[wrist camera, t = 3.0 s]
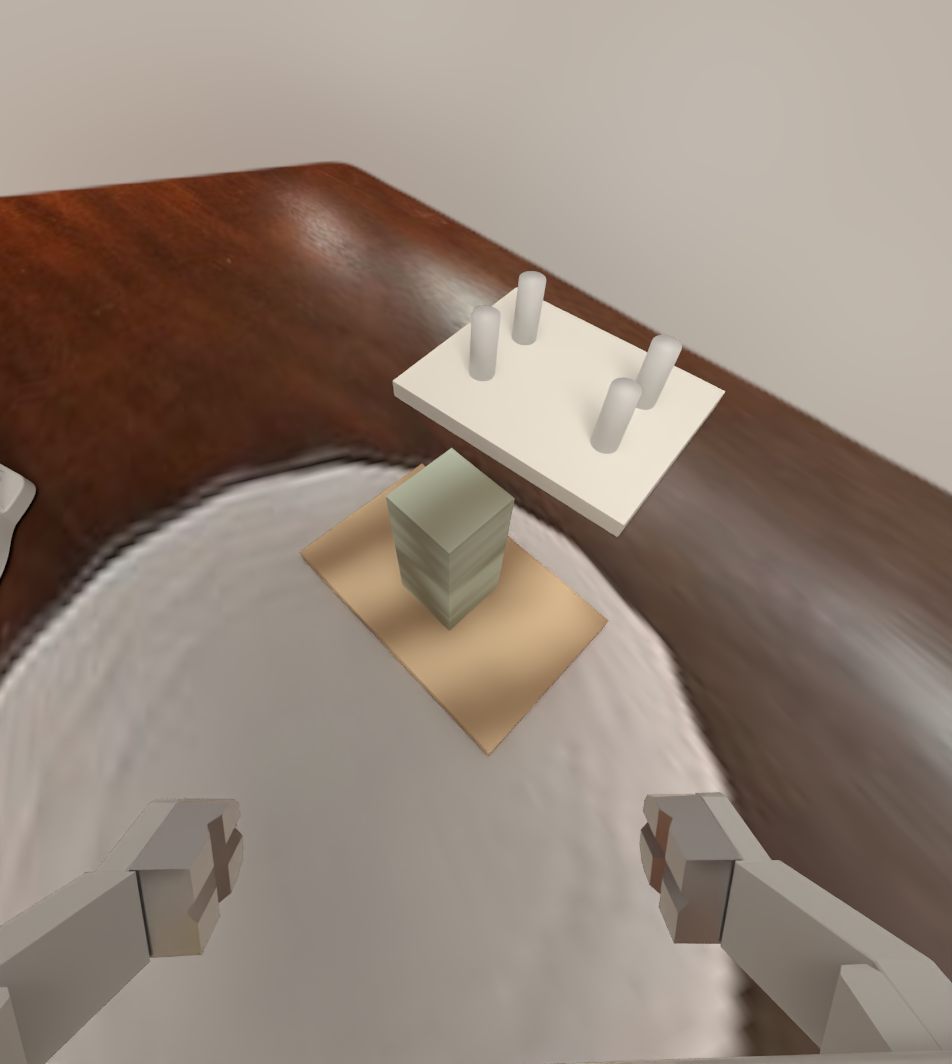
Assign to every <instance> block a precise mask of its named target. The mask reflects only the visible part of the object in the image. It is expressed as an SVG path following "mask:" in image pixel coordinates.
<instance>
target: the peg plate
mask: <svg viewBox="0 0 952 1064" xmlns="http://www.w3.org/2000/svg"><path fill="white" fill-rule="evenodd" d="M545 285H546V278H545V276H544V275H543V274H541V273H539V272H535V271H527V272H524V273H522V274H521V275H520V276H519V283H518V288H517V287H516V288H515V289H514V290H512V291H511V292H510V293H508V294H507V295H506V296H504V297H503V298H502V299H500V300H499V301H498V302H496V303H495V304H494V305H492V306H487V305H483V306H478V307H476V308H475V309H473V311H472V316H471V322H470V323H469V324H467V325H466V326H465V327H463V328H462V329H461V330H459V331H458V332H457V333H455V334H454V335H453V336H451V337H450V338H449V339H447V340H446V341H445V342H443V343H442V344H441V345H439V346H438V347H437V348H435V349H434V350H433V351H431V352H430V353H429V354H427V355H426V356H425V357H424V358H422V359H421V360H420V361H418V362H417V363H416V364H414V365H413V366H412V367H410V368H409V369H408V370H406V371H405V372H404V373H402V374H401V375H400V376H398V377H397V378H396V379H394V380H393V389H394V396H395V397H397V398H398V399H400V400H402V401H403V402H405V403H406V404H408V405H409V406H411V407H413V408H414V409H416V410H417V411H419V412H421V413H422V414H424V415H425V416H427V417H428V418H430V419H432V420H433V421H435V422H436V423H438V424H439V425H441V426H443V427H444V428H446V429H447V430H449V431H450V432H452V433H454V434H455V435H457V436H458V437H460V438H461V439H463V440H465V441H466V442H468V443H469V444H471V445H472V446H474V447H476V448H477V449H479V450H480V451H482V452H484V453H485V454H487V455H488V456H490V457H491V458H493V459H495V460H496V461H498V462H499V463H501V464H502V465H504V466H506V467H507V468H509V469H510V470H512V471H513V472H515V473H517V474H518V475H520V476H521V477H523V478H524V479H526V480H528V481H529V482H531V483H532V484H534V485H535V486H537V487H539V488H540V489H542V490H543V491H545V492H547V493H548V494H550V495H551V496H553V497H554V498H556V499H558V500H559V501H561V502H562V503H564V504H565V505H567V506H569V507H570V508H572V509H573V510H575V511H576V512H578V513H580V514H581V515H583V516H584V517H586V518H587V519H589V520H591V521H592V522H594V523H595V524H597V525H598V526H600V527H602V528H603V529H605V530H606V531H608V532H609V533H611V534H613V535H614V536H616V537H618V536H619V535H620V533H621V532H622V531H623V529H624V528H625V527H626V525H627V524H628V523H629V521H630V520H631V519H632V517H633V516H634V515H635V513H636V512H637V511H638V509H639V508H640V507H641V505H642V504H643V503H644V501H645V500H646V499H647V497H648V496H649V495H650V493H651V492H652V491H653V489H654V488H655V487H656V485H657V484H658V483H659V481H660V480H661V479H662V477H663V476H664V475H665V473H666V472H667V471H668V469H669V468H670V467H671V465H672V464H673V463H674V461H675V460H676V459H677V457H678V456H679V455H680V453H681V452H682V451H683V449H684V448H685V447H686V445H687V444H688V443H689V441H690V440H691V439H692V437H693V436H694V435H695V433H696V432H697V431H698V429H699V428H700V427H701V425H702V424H703V423H704V421H705V420H706V419H707V417H708V416H709V415H710V413H711V412H712V411H713V409H714V408H715V407H716V405H717V404H718V402H719V401H720V399H721V397H722V396H723V394H724V393H725V391H723V390H721V389H719V388H717V387H715V386H713V385H711V384H709V383H707V382H705V381H703V380H701V379H699V378H697V377H695V376H693V375H691V374H689V373H687V372H685V371H683V370H681V369H679V368H677V367H675V366H674V364H675V362H676V360H677V358H678V356H679V354H680V351H681V349H682V345H681V343H680V341H678V340H677V339H676V338H674V337H672V336H669V335H658V336H656V337H654V338H653V340H652V342H651V345H650V347H649V349H648V352H645V351H643V350H641V349H639V348H637V347H635V346H633V345H631V344H629V343H627V342H625V341H623V340H621V339H619V338H617V337H615V336H613V335H611V334H609V333H607V332H605V331H603V330H601V329H599V328H597V327H595V326H593V325H591V324H589V323H587V322H585V321H583V320H581V319H579V318H577V317H575V316H573V315H571V314H569V313H567V312H565V311H563V310H561V309H559V308H557V307H555V306H553V305H551V304H549V303H547V302H545V301H543V296H544V291H545Z"/></svg>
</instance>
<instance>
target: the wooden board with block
mask: <svg viewBox="0 0 952 1064" xmlns="http://www.w3.org/2000/svg"><path fill="white" fill-rule="evenodd" d="M514 499H515V498H513V497H512V496H511V495H510V494H508V493H507V492H506V491H505V490H503V489H502V488H501V487H500V486H498V485H497V484H496V483H495V482H493V481H492V480H491V479H490V478H488V477H487V476H486V475H485V474H483V473H482V472H481V471H480V470H478V469H477V468H476V467H475V466H473V465H472V464H471V463H470V462H468V461H467V460H466V459H465V458H463V457H462V456H461V455H460V454H458V453H457V452H456V451H455V450H453V449H452V448H451V449H450V450H448V451H447V452H445V453H444V454H443V455H441V456H440V457H439V458H437V459H436V460H434V461H433V462H432V463H430V464H429V465H428V466H426V467H425V466H424V465H423V464H421V465H419V466H418V467H417V468H415V469H414V470H413V471H411V472H410V473H408V474H407V475H406V476H404V477H403V478H401V479H400V480H399V481H397V482H396V483H395V484H393V485H392V486H390V487H389V488H388V489H386V490H385V491H383V492H382V493H381V494H379V495H378V496H377V497H375V498H374V499H372V500H371V501H370V502H368V503H367V504H365V505H364V506H363V507H361V508H360V509H358V510H357V511H356V512H354V513H353V514H352V515H350V516H349V517H347V518H346V519H345V520H343V521H342V522H340V523H339V524H338V525H336V526H335V527H334V528H332V529H331V530H329V531H328V532H327V533H325V534H324V535H322V536H321V537H320V538H318V539H317V540H316V541H314V542H313V543H311V544H310V545H309V546H307V547H306V548H304V549H303V550H302V551H300V554H301V556H302V557H303V559H304V560H305V561H306V562H307V563H308V565H309V566H310V567H311V568H312V569H313V570H314V571H315V572H316V573H317V574H318V575H319V576H320V577H321V578H322V579H323V580H324V582H325V583H326V584H327V585H328V586H329V587H330V588H331V589H332V590H333V591H334V592H335V593H336V594H337V595H338V596H339V598H340V599H341V600H342V601H343V602H344V603H345V604H346V605H347V606H348V607H349V608H350V609H351V610H352V611H353V612H354V614H355V615H356V616H357V617H358V618H359V619H360V620H361V621H362V622H363V623H364V624H365V625H366V626H367V627H368V628H369V629H370V631H371V632H372V633H373V634H374V635H375V636H376V637H377V638H378V639H379V640H380V641H381V642H382V643H383V644H384V645H385V647H386V648H387V649H388V650H389V651H390V652H391V653H392V654H393V655H394V656H395V657H396V658H397V659H398V660H399V661H400V663H401V664H402V665H403V666H404V667H405V668H406V669H407V670H408V671H409V672H410V673H411V674H412V675H413V676H414V677H415V679H416V680H417V681H418V682H419V683H420V684H421V685H422V686H423V687H424V688H425V689H426V690H427V691H428V692H429V693H430V694H431V696H432V697H433V698H434V699H435V700H436V701H437V702H438V703H439V704H440V705H441V706H442V707H443V708H444V709H445V710H446V712H447V713H448V714H449V715H450V716H451V717H452V718H453V719H454V720H455V721H456V722H457V723H458V724H459V725H460V726H461V728H462V729H463V730H464V731H465V732H466V733H467V734H468V735H469V736H470V737H471V738H472V739H473V740H474V741H475V742H476V743H477V745H478V746H479V747H480V748H481V749H482V750H483V751H484V752H485V753H486V754H487V755H488V756H489V755H490V754H491V752H492V751H493V750H494V749H495V748H496V747H497V746H498V745H499V743H500V742H501V741H502V740H503V739H504V738H505V737H506V736H507V735H508V733H509V732H510V731H511V730H512V729H513V728H514V727H515V726H516V724H517V723H518V722H519V721H520V720H521V719H522V718H523V717H524V716H525V714H526V713H527V712H528V711H529V710H530V709H531V708H532V707H533V705H534V704H535V703H536V702H537V701H538V700H539V699H540V698H541V697H542V695H543V694H544V693H545V692H546V691H547V690H548V689H549V688H550V686H551V685H552V684H553V683H554V682H555V681H556V680H557V679H558V678H559V676H560V675H561V674H562V673H563V672H564V671H565V670H566V669H567V667H568V666H569V665H570V664H571V663H572V662H573V661H574V660H575V659H576V657H577V656H578V655H579V654H580V653H581V652H582V651H583V650H584V648H585V647H586V646H587V645H588V644H589V643H590V642H591V641H592V640H593V638H594V637H595V636H596V635H597V634H598V633H599V632H600V631H601V629H602V628H603V627H604V626H605V625H606V623H607V622H608V620H607V619H606V618H605V617H604V616H602V615H601V614H600V613H599V612H598V611H596V610H595V609H594V608H593V607H592V606H591V605H589V604H588V603H587V602H586V601H585V600H583V599H582V598H581V597H580V596H579V595H577V594H576V593H575V592H574V591H573V590H572V589H570V588H569V587H568V586H567V585H566V584H564V583H563V582H562V581H561V580H560V579H558V578H557V577H556V576H555V575H554V574H552V573H551V572H550V571H549V570H548V569H547V568H545V567H544V566H543V565H542V564H541V563H539V562H538V561H537V560H536V559H535V558H533V557H532V556H531V555H530V554H529V553H528V552H526V551H525V550H524V549H523V548H522V547H520V546H519V545H518V544H517V543H516V542H514V541H513V540H512V539H511V538H510V537H508V536H507V535H508V530H509V525H510V520H511V515H512V509H513V504H514Z"/></svg>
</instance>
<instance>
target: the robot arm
mask: <svg viewBox="0 0 952 1064" xmlns="http://www.w3.org/2000/svg"><path fill="white" fill-rule="evenodd" d="M35 493H36V487H35V485H34V484H33V483H32V482H30V481H29V480H27V479H26V478H24V477H23V476H21V475H20V474H18V473H16V472H14V471H12V470H11V469H9V468H7V467H5V466H3V465H2V464H0V577H1V575H2V573H3V570H4V568H5V565H6V562H7V558H8V555H9V549H10V544H11V538H12V534H13V531H14V528H15V525H16V524H17V522H18V521H19V520H20V518H21V517H22V515H23V514H24V513H25V511H26V510H27V508H28V507H29V505H30V503H31V502H32V500H33V498H34V496H35ZM643 812H644V815H645V817H646V819H647V821H648V822H647V823H646V825H645V826H644V827H643V828H642V829H641V833H640V852H641V861H642V864H643V868H644V872H645V874H646V877H647V879H648V882H649V885H650V886H652V887H653V888H654V889H655V890H656V891H657V892H659V893H660V902H659V909H660V911H661V914H662V916H663V918H664V921H665V923H666V926H667V928H668V930H669V933H670V935H671V937H672V940H673V942H674V943H693V944H721V947H722V948H723V949H724V950H725V952H726V953H727V954H728V955H729V956H730V957H731V958H732V959H733V960H734V961H735V962H736V963H737V964H738V965H739V966H740V967H741V968H742V969H743V970H744V971H745V972H746V973H747V974H748V975H749V976H750V977H751V978H752V979H753V980H754V981H755V982H756V983H757V984H758V985H759V986H760V987H761V988H762V989H763V990H764V991H765V992H766V993H767V994H768V995H769V996H770V997H771V998H772V999H773V1000H774V1002H775V1003H776V1004H777V1005H778V1006H779V1007H780V1008H781V1009H782V1010H783V1011H784V1012H785V1013H786V1014H787V1015H788V1016H789V1017H790V1018H791V1019H792V1020H793V1021H794V1022H795V1023H796V1024H797V1025H798V1026H799V1027H800V1028H801V1029H802V1030H803V1031H804V1032H805V1033H806V1034H807V1035H808V1036H809V1037H810V1038H811V1039H812V1040H813V1041H814V1042H815V1043H816V1044H817V1045H818V1046H819V1047H820V1048H821V1050H820V1054H812V1055H783V1056H754V1057H724V1058H695V1059H667V1060H639V1061H611V1062H584V1063H556V1064H952V983H951V982H950V980H949V979H948V978H947V977H946V976H945V975H944V974H943V972H942V971H941V970H940V969H939V968H938V967H937V966H936V964H935V963H934V962H933V961H932V960H931V959H929V958H928V957H926V956H924V955H923V954H921V953H920V952H918V951H917V950H915V949H914V948H912V947H911V946H909V945H908V944H906V943H905V942H903V941H902V940H900V939H899V938H897V937H896V936H894V935H892V934H891V933H889V932H888V931H886V930H885V929H883V928H882V927H880V926H879V925H877V924H876V923H874V922H873V921H871V920H870V919H868V918H867V917H865V916H864V915H862V914H860V913H859V912H857V911H856V910H854V909H853V908H851V907H850V906H848V905H847V904H845V903H844V902H842V901H841V900H839V899H838V898H836V897H835V896H833V895H831V894H830V893H828V892H827V891H825V890H824V889H822V888H821V887H819V886H818V885H816V884H815V883H813V882H812V881H810V880H809V879H807V878H806V877H804V876H803V875H801V874H799V873H798V872H796V871H795V870H793V869H792V868H790V867H789V866H787V865H786V864H784V863H783V862H781V861H780V860H771V859H770V857H769V856H768V855H767V853H766V852H765V850H764V849H763V848H762V846H761V845H760V843H759V842H758V841H757V839H756V838H755V836H754V835H753V834H752V832H751V831H750V829H749V828H748V827H747V825H746V824H745V822H744V821H743V820H742V818H741V817H740V815H739V814H738V813H737V811H736V810H735V809H734V807H733V806H732V804H731V803H730V802H729V800H728V799H727V797H726V796H725V795H723V794H722V793H720V792H716V793H696V794H650V795H647V796H646V798H645V800H644V807H643ZM239 818H240V810H239V803H238V801H236V800H234V799H156V800H154V801H153V802H151V803H150V804H149V805H148V806H147V807H146V808H145V809H144V811H143V812H142V813H141V815H140V816H139V817H138V818H137V820H136V821H135V822H134V823H133V825H132V826H131V827H130V828H129V830H128V831H127V832H126V833H125V835H124V836H123V837H122V838H121V840H120V841H119V842H118V843H117V845H116V846H115V847H114V849H113V850H112V851H111V852H110V854H109V855H108V856H107V857H106V859H105V860H104V861H103V862H102V864H101V865H100V866H99V867H98V869H97V870H96V871H95V872H86V873H84V874H83V875H81V876H79V877H78V878H76V879H75V880H73V881H71V882H70V883H68V884H67V885H65V886H63V887H62V888H60V889H59V890H57V891H55V892H54V893H52V894H51V895H49V896H47V897H46V898H44V899H43V900H41V901H39V902H38V903H36V904H35V905H33V906H31V907H30V908H28V909H27V910H25V911H23V912H22V913H20V914H19V915H17V916H15V917H14V918H12V919H11V920H9V921H7V922H6V923H4V924H3V925H1V926H0V1064H45V1063H46V1062H47V1061H48V1060H49V1059H50V1058H51V1057H52V1056H53V1055H54V1054H55V1053H56V1052H57V1051H58V1050H59V1049H60V1048H61V1047H62V1046H63V1045H64V1044H65V1043H66V1042H67V1041H68V1040H69V1039H71V1038H72V1037H73V1036H74V1035H75V1034H76V1033H77V1032H78V1031H79V1030H80V1029H81V1028H82V1027H83V1026H84V1025H85V1024H86V1023H87V1022H88V1021H89V1020H90V1019H91V1018H92V1017H93V1016H94V1015H95V1014H96V1013H97V1012H98V1011H99V1010H100V1009H101V1008H102V1007H103V1006H105V1005H106V1004H107V1003H108V1002H109V1001H110V1000H111V999H112V998H113V997H114V996H115V995H116V994H117V993H118V992H119V991H120V990H121V989H122V988H123V987H124V986H125V985H126V984H127V983H128V982H129V981H130V980H131V979H132V978H133V977H134V976H135V975H136V974H137V973H138V972H140V971H141V970H142V969H143V968H144V967H145V966H146V965H147V964H148V963H149V962H150V958H155V957H172V956H190V955H202V953H203V951H204V949H205V947H206V945H207V943H208V940H209V938H210V936H211V934H212V932H213V930H214V928H215V926H216V924H217V922H218V919H219V917H220V913H219V904H218V903H219V902H221V901H222V900H223V899H224V898H225V897H227V896H228V895H229V894H230V893H231V892H232V890H233V887H234V885H235V883H236V881H237V878H238V875H239V871H240V867H241V864H242V859H243V836H242V835H241V833H240V832H239V831H238V830H237V829H236V828H235V826H236V824H237V822H238V820H239Z"/></svg>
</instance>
